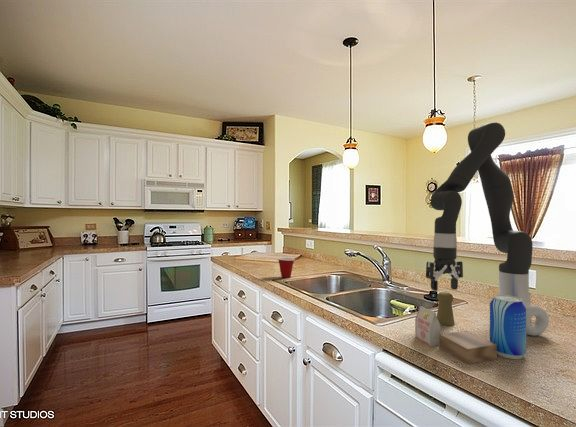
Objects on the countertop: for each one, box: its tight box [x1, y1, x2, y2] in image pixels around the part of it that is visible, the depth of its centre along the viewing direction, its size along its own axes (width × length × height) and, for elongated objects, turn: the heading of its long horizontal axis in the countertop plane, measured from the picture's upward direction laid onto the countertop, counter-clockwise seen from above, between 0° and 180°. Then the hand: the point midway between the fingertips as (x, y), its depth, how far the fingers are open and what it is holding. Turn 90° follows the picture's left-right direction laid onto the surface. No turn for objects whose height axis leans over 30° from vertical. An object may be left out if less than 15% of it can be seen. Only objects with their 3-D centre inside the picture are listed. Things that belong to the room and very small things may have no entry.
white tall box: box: [414, 305, 441, 347], centre depth 94 cm, size 4×7×10 cm, turn 15°
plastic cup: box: [277, 257, 296, 279], centre depth 187 cm, size 11×11×12 cm
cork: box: [436, 291, 456, 327], centre depth 109 cm, size 6×6×11 cm
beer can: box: [489, 294, 527, 360], centre depth 86 cm, size 8×8×16 cm
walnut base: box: [438, 330, 498, 365], centre depth 86 cm, size 10×10×4 cm
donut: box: [526, 304, 550, 337], centre depth 98 cm, size 10×4×10 cm, turn 95°
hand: (444, 289), depth 109 cm, fingers open, 8 cm apart
